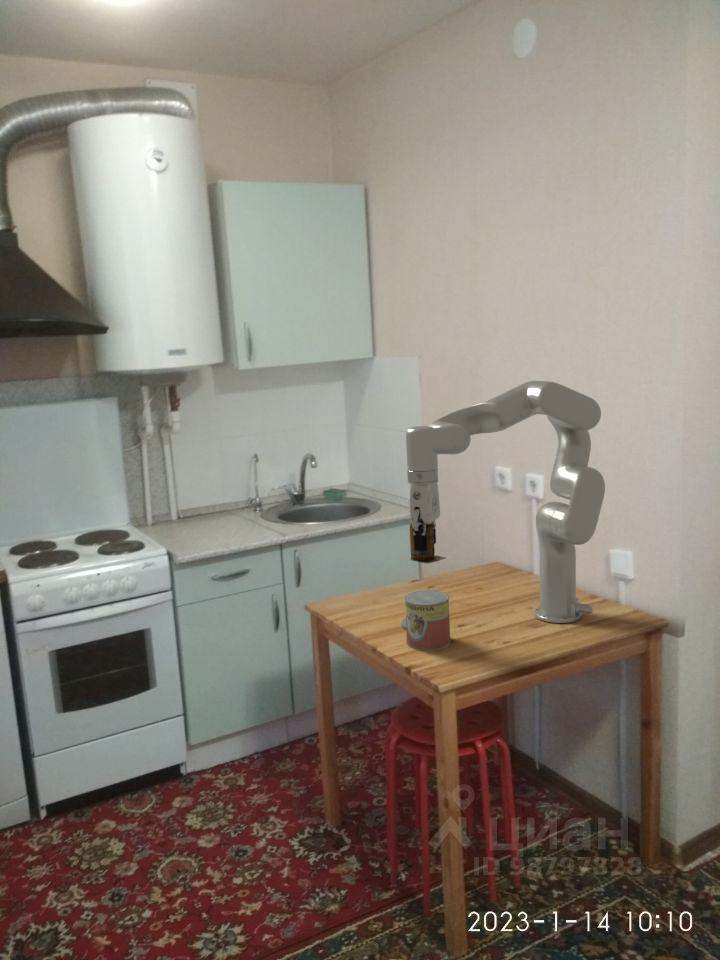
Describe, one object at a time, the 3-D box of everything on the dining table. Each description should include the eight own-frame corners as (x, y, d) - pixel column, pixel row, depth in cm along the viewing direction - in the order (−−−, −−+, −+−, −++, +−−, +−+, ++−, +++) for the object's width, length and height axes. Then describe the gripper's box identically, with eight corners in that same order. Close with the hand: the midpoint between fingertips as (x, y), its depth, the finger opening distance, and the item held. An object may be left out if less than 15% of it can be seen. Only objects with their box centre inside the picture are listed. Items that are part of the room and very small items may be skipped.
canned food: (397, 644, 202) (395, 599, 200) (423, 631, 210) (421, 587, 208) (434, 654, 195) (432, 607, 193) (459, 639, 203) (457, 595, 201)
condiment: (423, 552, 204) (421, 507, 202) (447, 558, 197) (445, 511, 195) (402, 558, 199) (400, 512, 197) (426, 565, 193) (424, 517, 191)
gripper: (426, 483, 186) (428, 557, 189) (447, 470, 201) (449, 539, 204) (396, 482, 189) (399, 555, 192) (419, 470, 204) (422, 537, 207)
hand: (425, 546), depth 198 cm, fingers closed on condiment, 6 cm apart
